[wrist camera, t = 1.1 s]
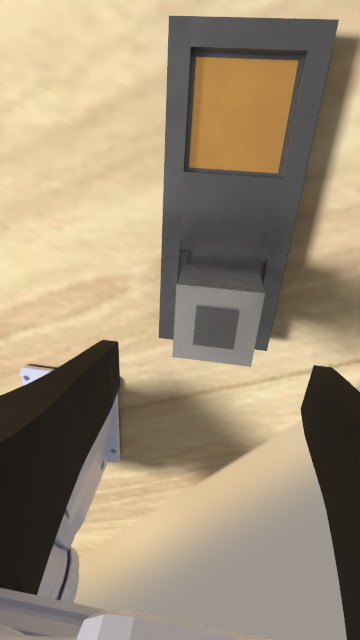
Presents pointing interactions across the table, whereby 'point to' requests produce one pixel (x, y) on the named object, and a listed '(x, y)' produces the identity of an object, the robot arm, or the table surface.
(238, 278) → the grey square block
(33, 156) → the table surface
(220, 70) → the dark gray slotted base
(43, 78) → the table surface
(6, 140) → the table surface
